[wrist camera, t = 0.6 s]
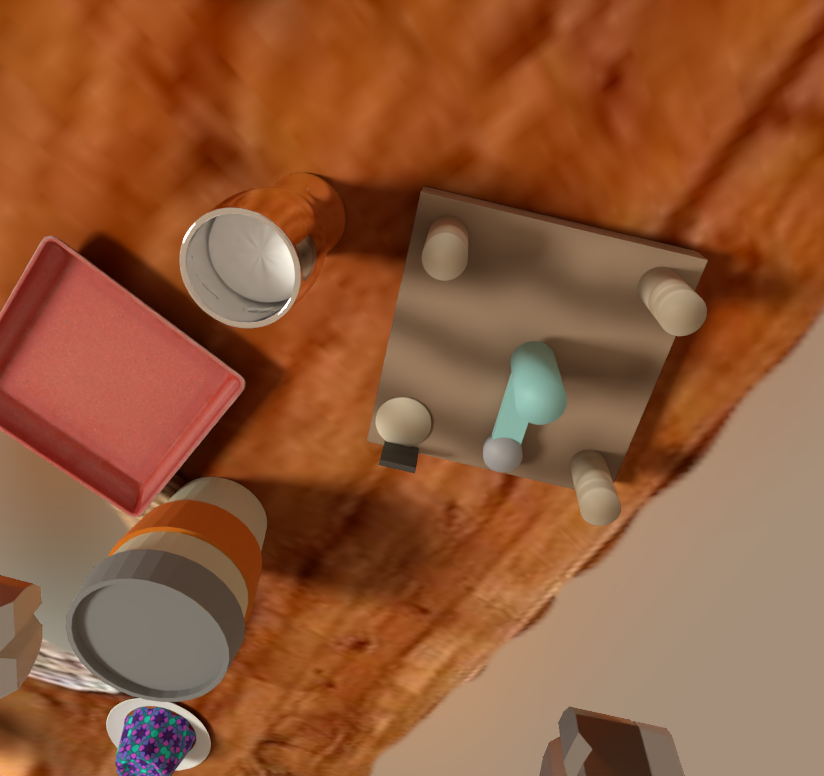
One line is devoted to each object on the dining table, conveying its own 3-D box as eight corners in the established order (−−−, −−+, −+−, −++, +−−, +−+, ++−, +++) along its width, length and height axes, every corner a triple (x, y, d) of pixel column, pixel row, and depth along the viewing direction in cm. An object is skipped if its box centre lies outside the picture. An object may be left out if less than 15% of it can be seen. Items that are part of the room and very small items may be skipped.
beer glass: (366, 243, 49) (325, 308, 35) (283, 275, 50) (213, 348, 37) (328, 150, 46) (268, 182, 33) (242, 186, 48) (150, 231, 34)
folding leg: (516, 468, 53) (522, 526, 46) (477, 459, 52) (477, 515, 46) (559, 341, 48) (573, 385, 41) (516, 331, 48) (523, 374, 41)
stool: (423, 186, 47) (413, 207, 39) (696, 251, 47) (739, 285, 39) (371, 426, 55) (354, 482, 48) (602, 479, 56) (622, 544, 48)
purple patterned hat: (234, 742, 75) (218, 787, 70) (162, 776, 79) (142, 821, 74) (160, 677, 71) (138, 720, 67) (88, 716, 75) (62, 759, 71)
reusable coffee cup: (292, 573, 63) (243, 709, 50) (166, 568, 64) (84, 699, 51) (279, 461, 58) (220, 579, 44) (141, 457, 59) (42, 571, 45)
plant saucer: (69, 221, 51) (44, 231, 48) (261, 366, 54) (249, 383, 51) (-23, 381, 57) (-51, 397, 54) (153, 499, 61) (137, 521, 58)
